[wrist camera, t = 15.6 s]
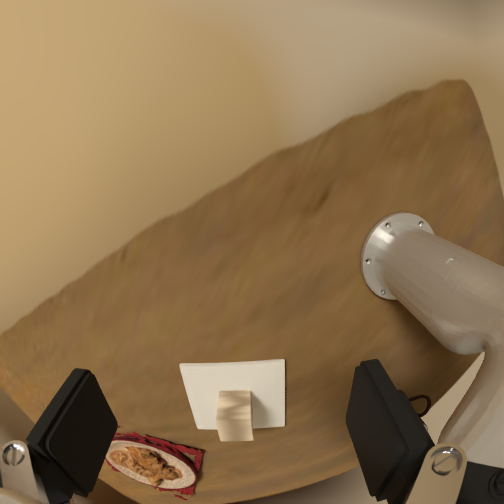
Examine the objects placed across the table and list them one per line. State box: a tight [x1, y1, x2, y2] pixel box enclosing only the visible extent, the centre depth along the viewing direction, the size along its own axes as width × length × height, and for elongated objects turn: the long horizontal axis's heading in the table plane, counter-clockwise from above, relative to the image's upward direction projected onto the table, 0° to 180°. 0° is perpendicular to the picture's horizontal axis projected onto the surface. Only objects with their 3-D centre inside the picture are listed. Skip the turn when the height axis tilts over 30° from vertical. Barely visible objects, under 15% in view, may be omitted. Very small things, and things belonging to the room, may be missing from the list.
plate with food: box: [105, 426, 203, 500], centre depth 50 cm, size 25×26×4 cm
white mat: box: [180, 359, 285, 429], centre depth 44 cm, size 16×16×1 cm
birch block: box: [216, 390, 253, 441], centre depth 40 cm, size 5×5×7 cm
